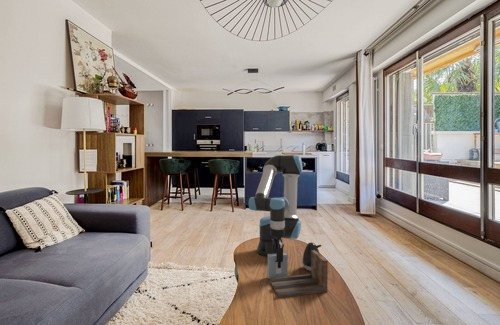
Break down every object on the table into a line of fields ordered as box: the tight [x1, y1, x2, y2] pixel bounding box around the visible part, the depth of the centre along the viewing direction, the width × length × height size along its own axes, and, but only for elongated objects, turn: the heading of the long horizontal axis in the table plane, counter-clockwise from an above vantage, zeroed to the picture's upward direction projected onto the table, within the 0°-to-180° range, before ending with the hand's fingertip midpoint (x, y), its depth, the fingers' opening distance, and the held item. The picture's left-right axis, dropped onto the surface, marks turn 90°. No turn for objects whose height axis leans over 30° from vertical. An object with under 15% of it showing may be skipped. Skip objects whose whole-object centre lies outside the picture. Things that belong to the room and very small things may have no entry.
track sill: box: [269, 250, 329, 298], centre depth 129 cm, size 14×24×15 cm, turn 101°
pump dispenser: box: [301, 242, 322, 272], centre depth 149 cm, size 10×10×15 cm
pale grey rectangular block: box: [267, 252, 289, 280], centre depth 139 cm, size 3×10×12 cm, turn 101°
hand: (277, 271), depth 139 cm, fingers closed on pale grey rectangular block, 3 cm apart
